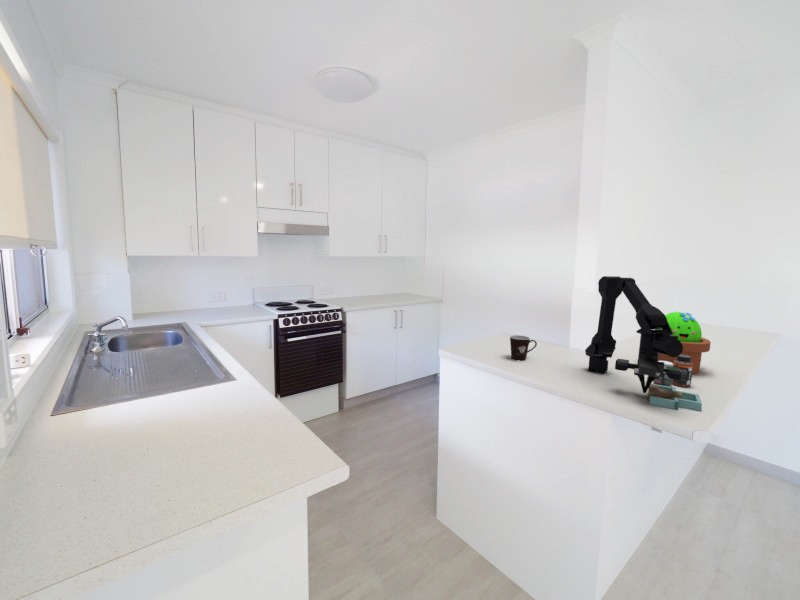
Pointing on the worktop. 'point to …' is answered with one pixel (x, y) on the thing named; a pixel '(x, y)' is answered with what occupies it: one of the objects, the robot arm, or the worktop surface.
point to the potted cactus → (687, 338)
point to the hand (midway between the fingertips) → (644, 392)
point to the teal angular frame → (677, 400)
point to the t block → (662, 393)
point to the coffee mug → (520, 347)
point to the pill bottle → (664, 376)
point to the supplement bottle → (683, 370)
